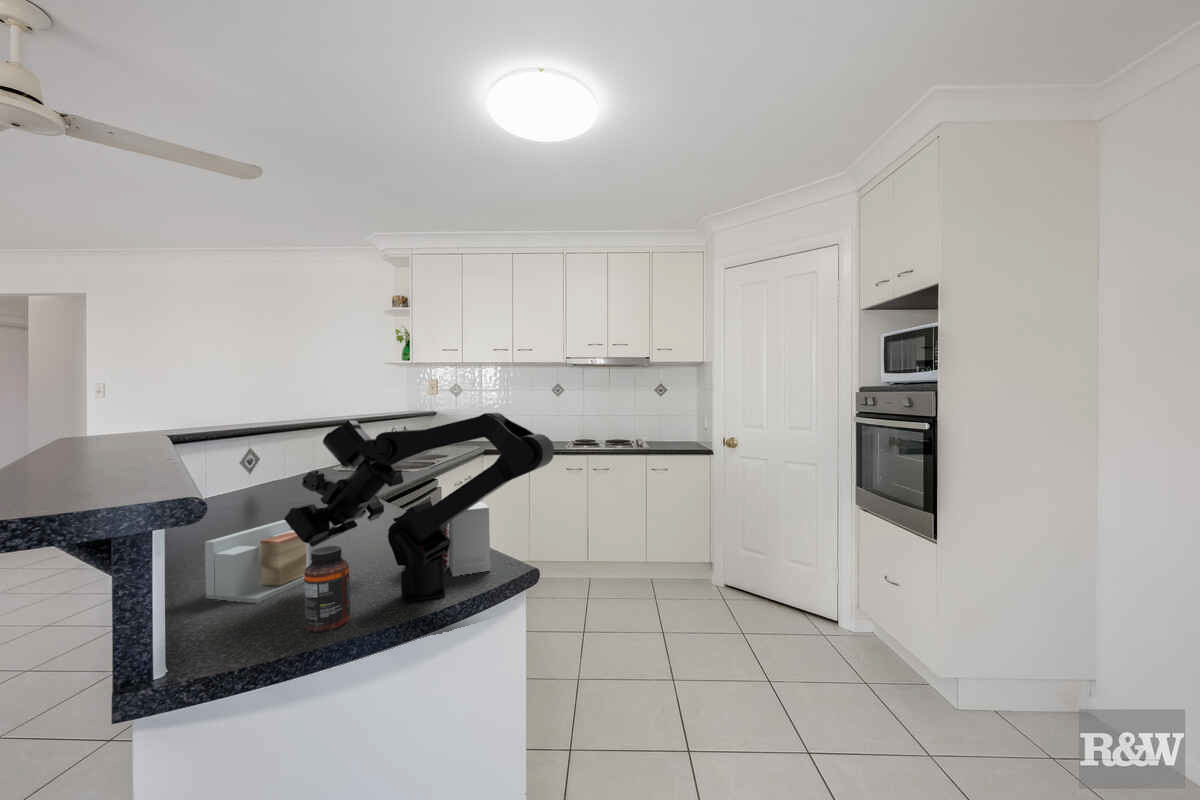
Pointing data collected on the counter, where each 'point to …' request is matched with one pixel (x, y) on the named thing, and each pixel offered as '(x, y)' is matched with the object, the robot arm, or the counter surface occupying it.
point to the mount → (243, 565)
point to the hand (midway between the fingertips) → (311, 544)
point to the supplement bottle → (327, 590)
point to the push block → (282, 559)
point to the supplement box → (470, 541)
